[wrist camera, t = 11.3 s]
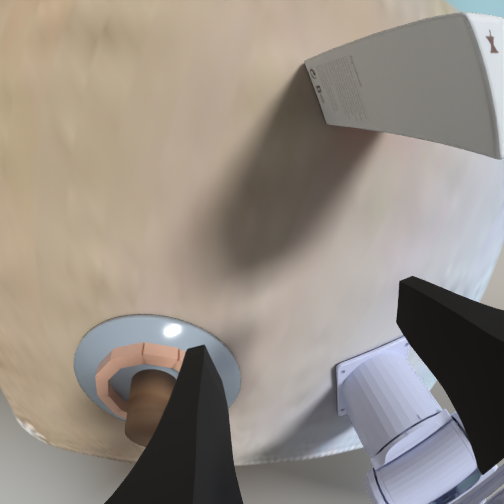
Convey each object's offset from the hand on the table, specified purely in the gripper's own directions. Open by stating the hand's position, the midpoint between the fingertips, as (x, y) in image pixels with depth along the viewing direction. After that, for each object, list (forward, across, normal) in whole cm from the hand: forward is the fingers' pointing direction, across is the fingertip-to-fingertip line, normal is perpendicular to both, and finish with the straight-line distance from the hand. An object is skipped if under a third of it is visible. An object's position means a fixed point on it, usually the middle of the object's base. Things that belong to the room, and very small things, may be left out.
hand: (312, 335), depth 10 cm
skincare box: (+10, -8, -8) cm, 15 cm away
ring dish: (+9, +11, +10) cm, 18 cm away
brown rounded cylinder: (+9, +11, +10) cm, 17 cm away
